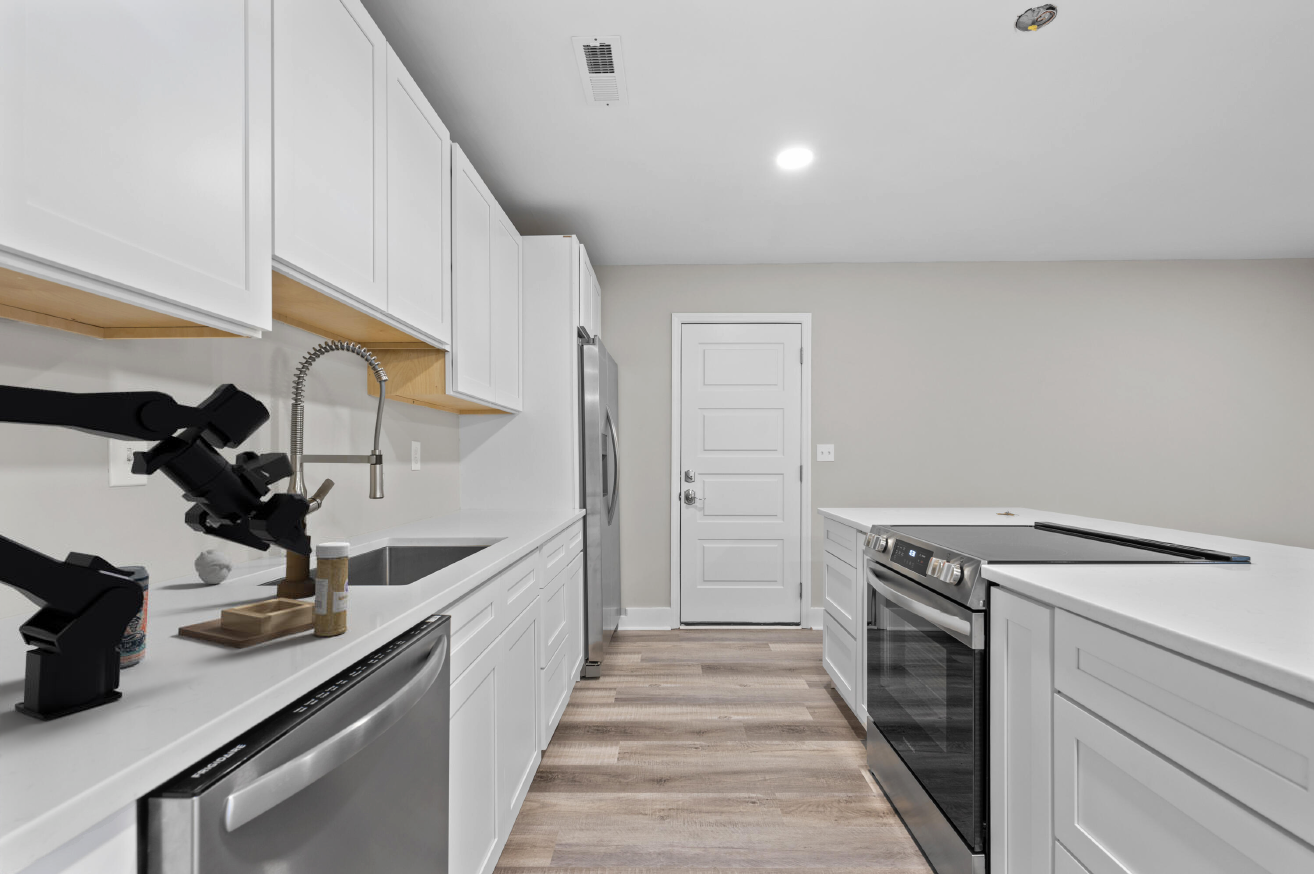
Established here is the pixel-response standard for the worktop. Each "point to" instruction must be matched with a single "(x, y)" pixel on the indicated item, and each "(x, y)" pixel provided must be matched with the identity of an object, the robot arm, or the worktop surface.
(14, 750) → the worktop surface
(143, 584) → the beer can
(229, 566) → the white lumpy ball
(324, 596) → the spice jar
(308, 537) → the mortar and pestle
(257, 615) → the socket
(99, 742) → the worktop surface
